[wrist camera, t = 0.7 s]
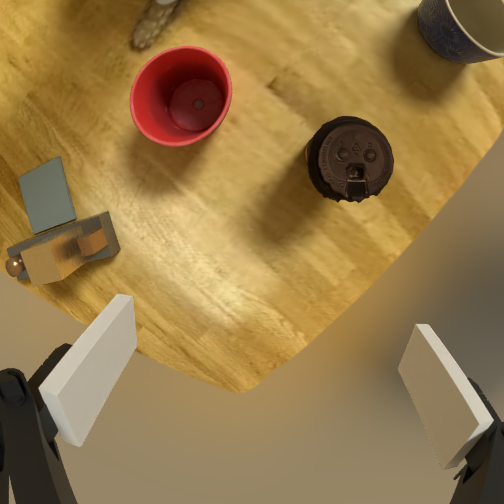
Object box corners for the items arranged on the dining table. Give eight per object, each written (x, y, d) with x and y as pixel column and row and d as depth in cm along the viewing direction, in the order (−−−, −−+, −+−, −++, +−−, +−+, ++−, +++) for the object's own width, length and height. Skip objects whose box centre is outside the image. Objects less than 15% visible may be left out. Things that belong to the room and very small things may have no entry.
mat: (20, 177, 41) (17, 178, 40) (60, 156, 39) (58, 156, 39) (35, 233, 44) (33, 234, 43) (76, 217, 43) (74, 218, 42)
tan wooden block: (63, 265, 42) (33, 286, 34) (52, 234, 40) (20, 252, 33) (91, 257, 41) (62, 280, 34) (80, 225, 40) (48, 242, 32)
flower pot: (258, 107, 37) (255, 94, 28) (193, 162, 39) (171, 168, 30) (204, 51, 34) (187, 26, 25) (143, 107, 37) (110, 98, 28)
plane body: (28, 274, 46) (5, 290, 40) (16, 243, 45) (-8, 256, 38) (120, 249, 44) (98, 266, 37) (108, 210, 42) (83, 222, 35)
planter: (487, 57, 31) (530, 46, 20) (439, 80, 33) (482, 67, 23) (446, -9, 28) (480, -33, 17) (392, 7, 30) (423, -23, 20)
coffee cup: (332, 202, 40) (359, 227, 28) (282, 162, 39) (289, 170, 27) (372, 151, 38) (415, 156, 25) (323, 110, 36) (348, 95, 24)
